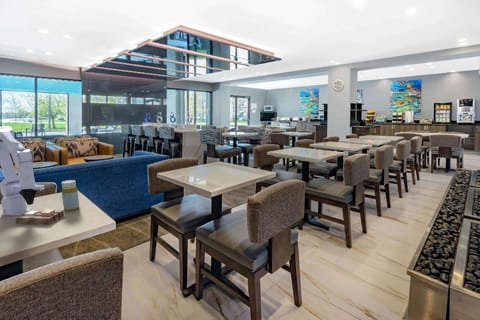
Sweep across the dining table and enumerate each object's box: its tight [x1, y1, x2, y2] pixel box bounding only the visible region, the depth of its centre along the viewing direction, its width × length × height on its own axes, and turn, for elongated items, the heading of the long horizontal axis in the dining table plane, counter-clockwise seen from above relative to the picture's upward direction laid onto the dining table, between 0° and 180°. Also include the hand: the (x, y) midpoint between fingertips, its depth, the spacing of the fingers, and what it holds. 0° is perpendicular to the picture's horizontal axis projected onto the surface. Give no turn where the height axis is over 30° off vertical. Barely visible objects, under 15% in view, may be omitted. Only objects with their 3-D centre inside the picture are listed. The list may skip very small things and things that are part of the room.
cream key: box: [24, 211, 39, 216], centre depth 133 cm, size 4×4×3 cm
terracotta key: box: [41, 208, 56, 216], centre depth 133 cm, size 4×4×3 cm
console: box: [14, 209, 65, 226], centre depth 133 cm, size 16×10×3 cm, turn 87°
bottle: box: [61, 179, 80, 212], centre depth 145 cm, size 7×7×15 cm
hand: (30, 204), depth 132 cm, fingers closed
